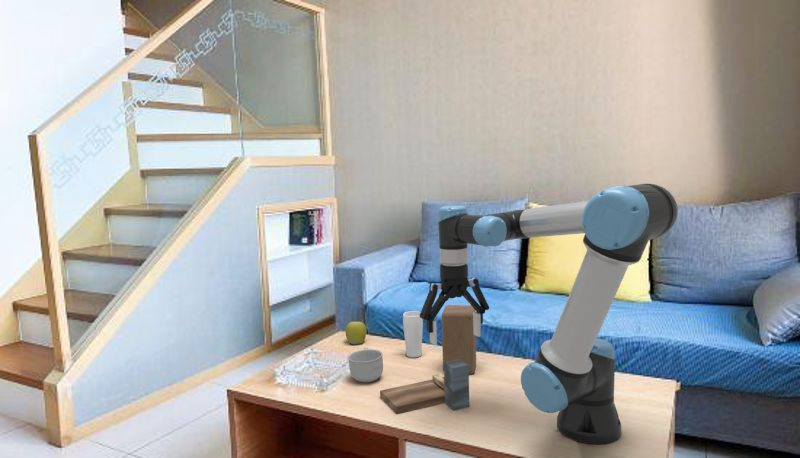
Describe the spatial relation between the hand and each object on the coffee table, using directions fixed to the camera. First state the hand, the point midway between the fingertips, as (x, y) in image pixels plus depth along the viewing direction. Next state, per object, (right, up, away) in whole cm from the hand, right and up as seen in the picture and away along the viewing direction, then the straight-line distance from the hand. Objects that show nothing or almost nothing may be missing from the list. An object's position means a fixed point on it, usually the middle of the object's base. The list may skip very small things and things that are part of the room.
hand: (455, 339), depth 153 cm
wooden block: (+4, -15, +28) cm, 32 cm away
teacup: (-26, -17, +24) cm, 39 cm away
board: (-9, -18, +8) cm, 21 cm away
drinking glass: (-10, -14, +42) cm, 45 cm away
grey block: (-2, -18, +7) cm, 19 cm away
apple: (-32, -13, +57) cm, 67 cm away
